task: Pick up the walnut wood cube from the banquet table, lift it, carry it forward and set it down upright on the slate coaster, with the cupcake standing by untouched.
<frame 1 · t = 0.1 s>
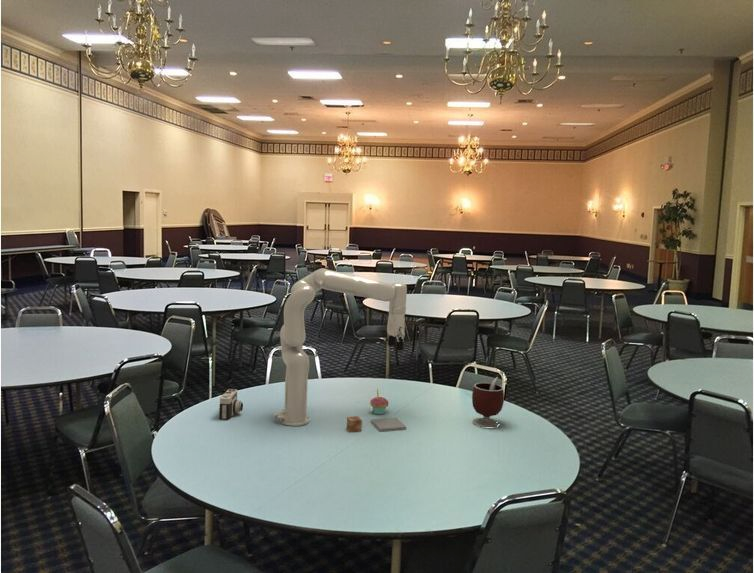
hand: (395, 347, 266), 31 cm above the table, fingers open, 9 cm apart
camera: (232, 415, 258), on the table
cupcake: (378, 412, 271), on the table
mate gourd: (486, 423, 263), on the table
walnut cube: (353, 430, 247), on the table
slate coaster: (388, 425, 254), on the table
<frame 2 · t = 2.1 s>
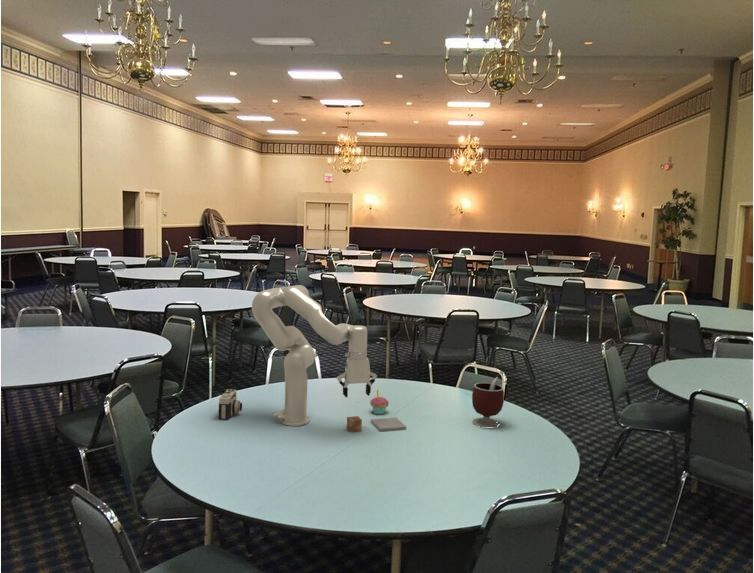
hand: (356, 395, 246), 15 cm above the table, fingers open, 9 cm apart
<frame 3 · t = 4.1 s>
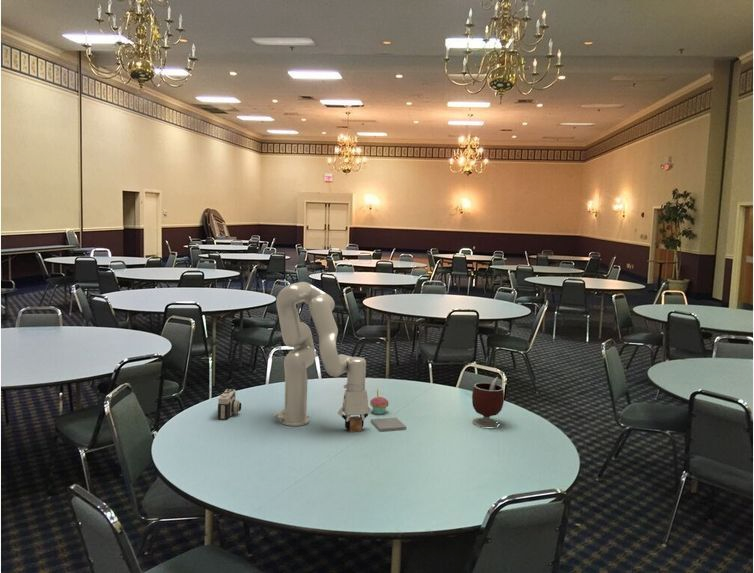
hand: (354, 428, 247), 0 cm above the table, fingers closed on walnut cube, 5 cm apart
walnut cube: (354, 429, 247), on the table, touching gripper
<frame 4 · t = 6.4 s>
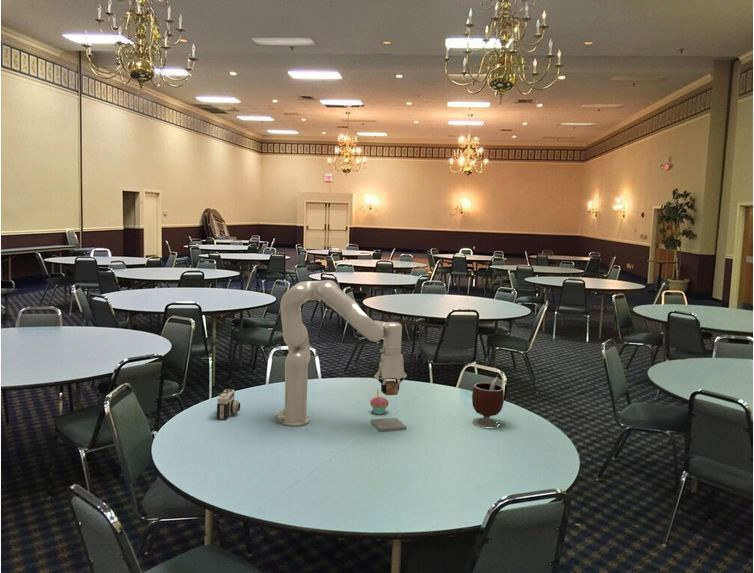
hand: (389, 392, 252), 15 cm above the table, fingers closed on walnut cube, 5 cm apart
walnut cube: (389, 393, 252), point 14 cm above the table, touching gripper
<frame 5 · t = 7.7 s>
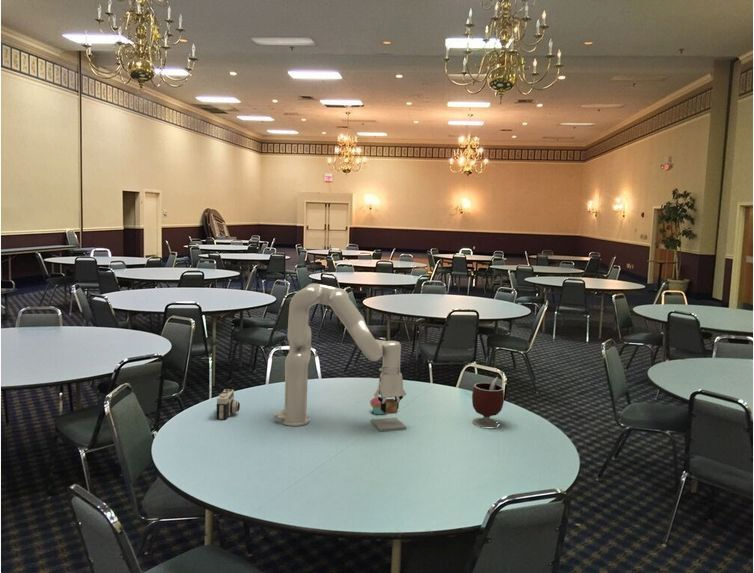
hand: (389, 410, 253), 7 cm above the table, fingers closed on walnut cube, 5 cm apart
walnut cube: (389, 411, 253), point 6 cm above the table, touching gripper
when the fingers open (3 cm above the table, at t = 8.8 s): walnut cube drops 1 cm, resting on slate coaster.
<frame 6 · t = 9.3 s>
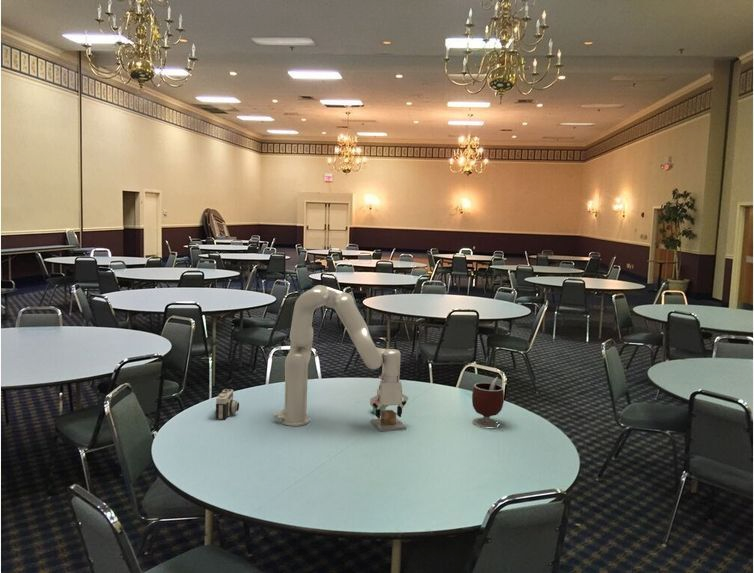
hand: (388, 416, 254), 4 cm above the table, fingers open, 9 cm apart
walnut cube: (388, 423, 254), point 1 cm above the table, touching slate coaster
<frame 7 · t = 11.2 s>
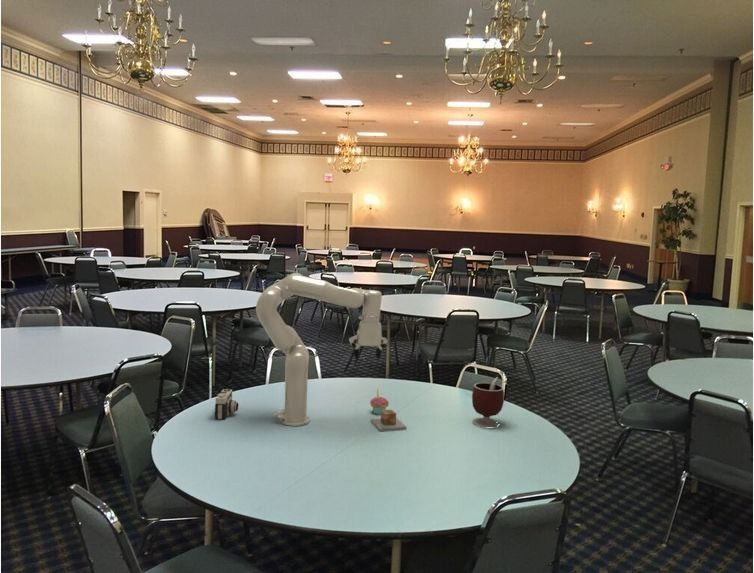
hand: (366, 358, 253), 29 cm above the table, fingers open, 9 cm apart
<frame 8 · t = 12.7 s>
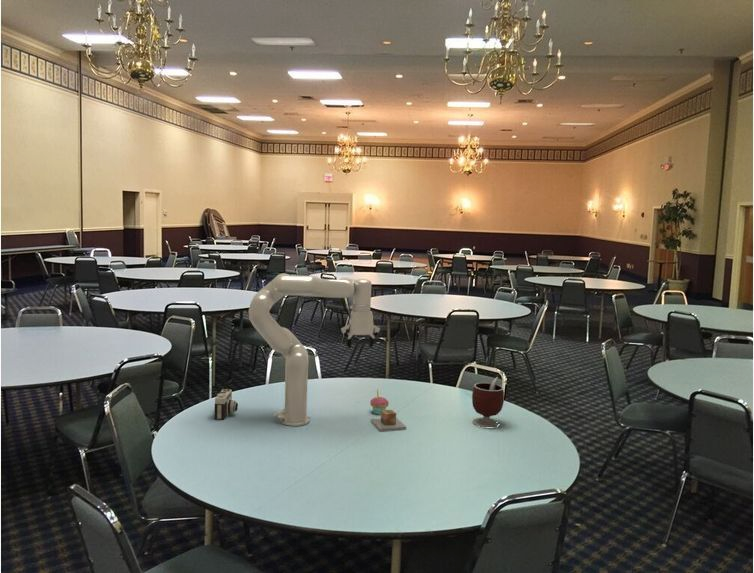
hand: (359, 347, 253), 33 cm above the table, fingers open, 9 cm apart
at the end: walnut cube inside the target area on the slate coaster (0.1 cm from its centre), point 1.2 cm above the slate coaster's base; walnut cube tilted 0°; the gripper is holding nothing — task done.
